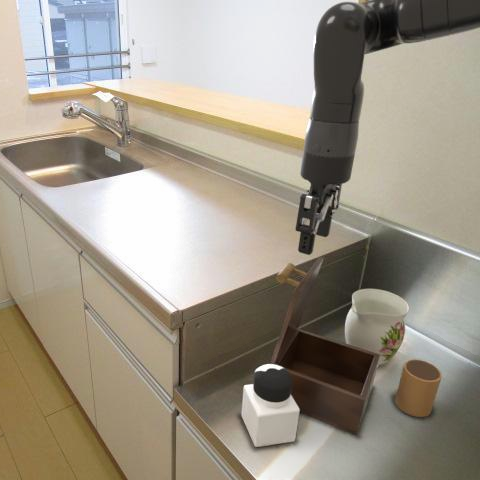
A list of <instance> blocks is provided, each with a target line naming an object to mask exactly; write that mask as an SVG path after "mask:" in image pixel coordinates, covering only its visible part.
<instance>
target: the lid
mask: <svg viewBox="0 0 480 480" xmlns="http://www.w3.org/2000/svg"><path fill="white" fill-rule="evenodd" d="M323 262H324V257H321V256H319V257H318V258H317V259H316V261H315V262H314V263H313V265H312V266H311V268H310V269H309V270H308V271H307V272H306V271H303V270H301V269H297V268H296V266H295V264H293V263H291V262H287V263H286V264H285V266H284V267H283V268H282V269H281V270H280V271H279V272H278V274H277V275H276V277H275V279H276V282H277V283H279V284H285V283H287V284H289V285H291V286H293V287H296V288H295V289H294V292H293V294H292V298H291V300H290V303H289V307H288V309H287V313H286V316H285V318H284V321H283V325H282V327H281V330H280V332H279V336H278V338H277V342H276V345H275V348H274V350H273V353H272V355H271V359H270V362H269V364H275V363H276V361H277V360H278V358H279V357H280V355H281V353H282V352H283V350H284V349H285V347H286V346H287V344H288V342H289V341H290V339H291V338H292V336H293V335H294V333H295V331H296V330H297V328H298V329H299V326H300V324H301V321H302V318H303V315H304V313H305V310H306V307H307V304H308V302H309V299H310V297H311V294H312V291H313V288H314V287H315V283H316V280H317V277H318V275H319V272H320V269H321V267H322V264H323ZM293 274H295V275H297V276H300V277H302V279H301V281H297V280H295V279H292V278H291V276H292V275H293Z"/></svg>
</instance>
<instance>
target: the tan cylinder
mask: <svg viewBox="0 0 480 480" xmlns="http://www.w3.org/2000/svg"><path fill="white" fill-rule="evenodd" d="M442 377H443V375H442V372H441V370H440V369H439V368H438V367H437V366H436V365H434V364H433V363H430V362H428V361H426V360H423V359H416V358H415V359H408V360H406V361H405V362H404V363H403V367H402V370H401V375H400V378H399V379H400V380H399V383H398V387H397V391H396V394H395V398H394V402H395V404H396V406H397V407H398V408H399V410H401V411H403V412H404V413H405V414H407V415H409V416H412V417H416V418H425V417H428V416H429V415H431V413H432V411H433V406H434V404H435V400H436V397H437V393H438V390H439V387H440V384H441V381H442Z"/></svg>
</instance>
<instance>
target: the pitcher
mask: <svg viewBox="0 0 480 480" xmlns="http://www.w3.org/2000/svg"><path fill="white" fill-rule="evenodd" d="M351 301H352V302H351V304H352V305H351V307H350V309H349V311H348V312H347V315H346V317H345V323H344V338H345V342H346V343H345V344H348V345H351V346H355V347H358V348H361V349H364V350H367V351H370V352H373V353H377V354H380V357H379V361H378V366H382V365H384V364H386V363H387V362H389V361H390V360H392V359H393V358H394V357H395V355H396V354H397V353H398V351H399V350H400V348H401V346H402V344H403V341H404V339H405V335H406V321H405V318H406V316H407V314H408V313H409V310H410V306H409V304H408V301H406V300H405V299H404V298H403V297H401V296H400V295H397V294H395V293H393V292H390V291H388V290H385V289H384V290H383V289H379V288H362V289H358V290H356V291H354V292H353V293H352V294H351Z"/></svg>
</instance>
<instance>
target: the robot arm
mask: <svg viewBox="0 0 480 480" xmlns="http://www.w3.org/2000/svg"><path fill="white" fill-rule="evenodd" d="M479 29H480V0H365V1H361V2H354V1H341V2H338V3H335V4H334V5H331V7H329V8H328V9H327V10H326V11H325V12H324V13H323V14H322V16H321V18H320V19H319V20H318V23H317V26H316V30H315V34H314V40H313V49H312V51H313V52H312V53H313V54H312V56H313V81H314V88H313V93H312V94H313V95H312V98H311V99H312V100H311V106H310V113H309V119H308V124H307V127H306V131H305V137H304V144H303V151H302V159H301V166H300V172H299V173H300V177H301V178H302V179H303V180H305V181H308V182H309V184H310V186H309V189H307V190H306V192H305V193H301V195H300V197H299V205H298V212H297V217H296V223H295V232H299V233H300V234H299V241H298V246H297V247H298V248H297V250H298V252H299V253H300V254H304V255H307V256H310V255H312V254H313V253H314V247H315V241H316V236H319V237H322V238H327V237H328V236H329V235H330V232H331V226H332V220H333V217H334V215H335V213H336V210H338V208H339V206H340V198H341V193H342V186H343V184H346V183H348V182H349V181H350V180H351V176H352V171H353V167H354V161H355V157H356V150H357V144H358V140H359V128H360V127H359V126H360V125H359V124H360V119H361V113H362V109H363V108H362V107H363V103H364V102H363V101H364V96H365V84H364V82H363V81H362V76H363V75H362V74H363V68H364V63H365V62H364V60H365V55H368V54H372V53H376V52H379V51H383V50H387V49H390V48H393V47H398V46H400V45H404V44H406V45H407V44H417V43H421V42H426V41H431V40H436V39H441V38H445V37H450V36H453V35H458V34H462V33H466V32H470V31H474V30H479ZM308 220H309V224H307V222H308Z"/></svg>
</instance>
